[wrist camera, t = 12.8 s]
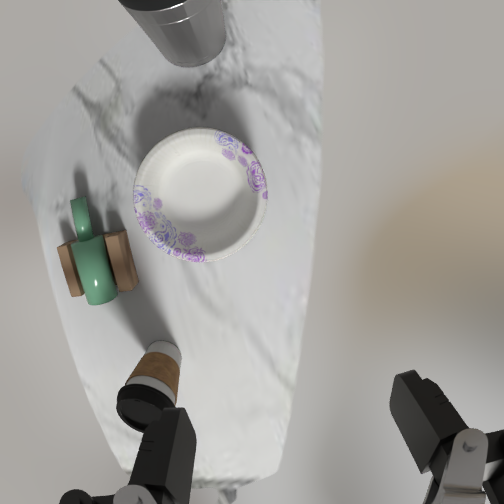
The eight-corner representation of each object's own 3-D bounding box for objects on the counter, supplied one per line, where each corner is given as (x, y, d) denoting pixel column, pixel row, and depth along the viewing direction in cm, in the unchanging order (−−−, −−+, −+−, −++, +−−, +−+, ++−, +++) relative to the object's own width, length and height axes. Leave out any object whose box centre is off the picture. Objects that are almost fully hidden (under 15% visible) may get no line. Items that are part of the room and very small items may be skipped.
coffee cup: (188, 336, 45) (169, 402, 31) (190, 376, 48) (176, 442, 33) (138, 331, 45) (105, 391, 30) (144, 370, 47) (119, 431, 33)
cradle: (67, 241, 40) (56, 247, 37) (126, 229, 40) (117, 235, 37) (81, 288, 43) (71, 296, 39) (138, 281, 42) (131, 290, 39)
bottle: (96, 292, 42) (73, 199, 38) (122, 289, 42) (99, 192, 38) (82, 306, 38) (55, 204, 33) (110, 304, 38) (83, 197, 33)
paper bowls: (284, 169, 38) (294, 171, 31) (227, 264, 42) (223, 286, 34) (185, 114, 36) (172, 103, 28) (134, 211, 39) (111, 223, 32)
